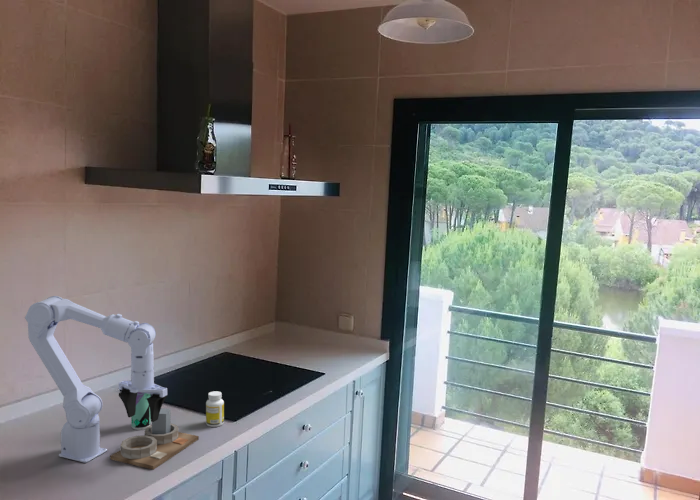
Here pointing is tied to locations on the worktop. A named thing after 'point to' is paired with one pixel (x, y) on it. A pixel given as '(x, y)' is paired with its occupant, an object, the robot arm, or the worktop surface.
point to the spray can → (141, 412)
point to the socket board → (153, 447)
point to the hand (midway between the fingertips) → (142, 418)
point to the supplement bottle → (214, 409)
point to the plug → (162, 422)
